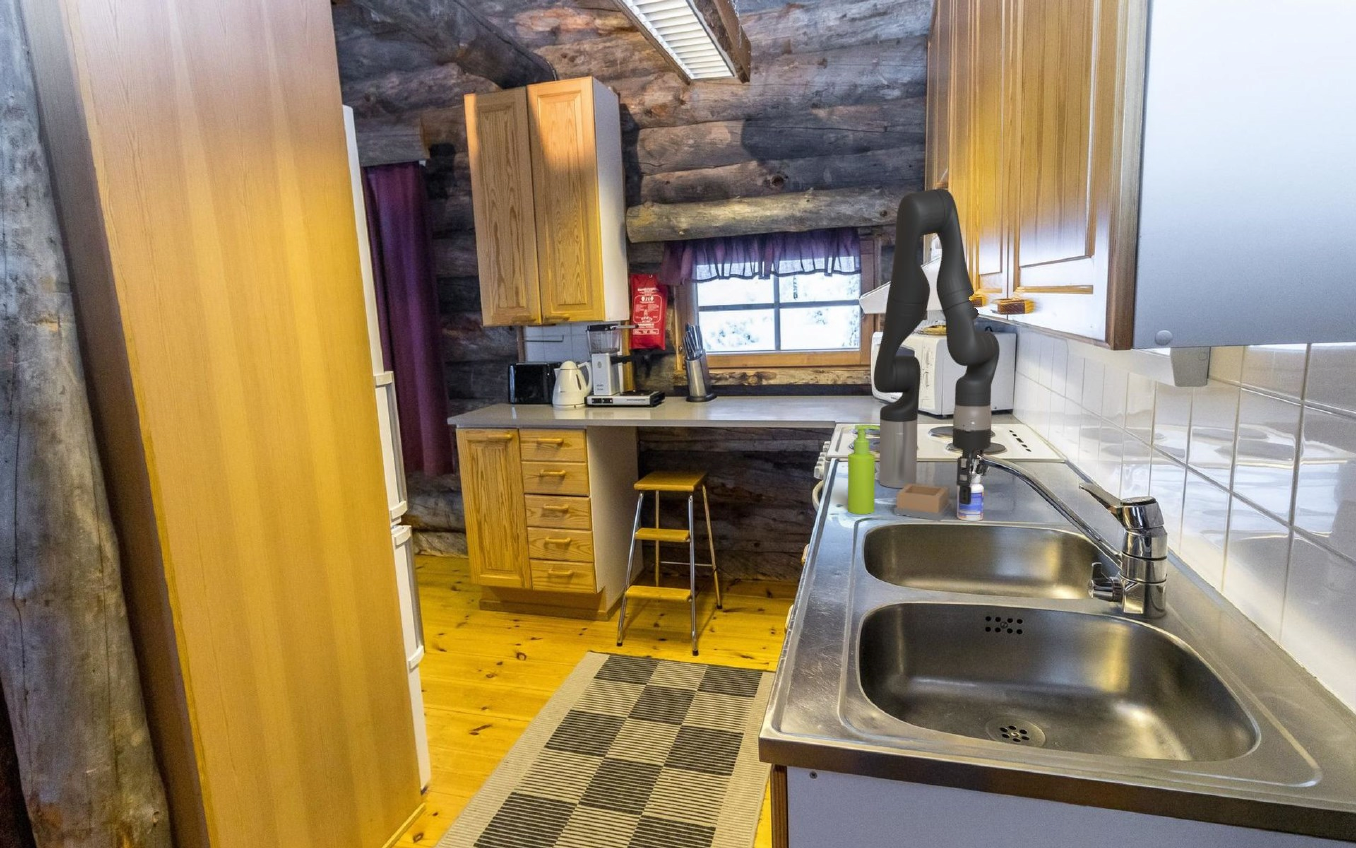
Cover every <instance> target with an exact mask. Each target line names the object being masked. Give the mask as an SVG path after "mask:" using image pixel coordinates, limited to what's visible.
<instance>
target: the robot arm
mask: <svg viewBox="0 0 1356 848" xmlns="http://www.w3.org/2000/svg"><path fill="white" fill-rule="evenodd" d="M934 234H936V235H937V237H938V240H939V242H940V243H939V244H940V245H941V246H940V247H941V258H940V264H939V268H938V271H937V278H936V283H935V284H936V286H935V287H936V295H937V298H938V300H939V304H940V307H941V310H942V313H943V316H944V318H945V332H946V333H945V334H946V335H945V336H946V345H947V350H948V353H949V355H950V357H951V359H952V360H953V361H954V362H955V363H956V364H958V365H960V366H962V367H966V369H965V373H964V375H962V376H961V377H959V378H958V379H957V380H956V382H955V390H954V391H955V392H954V393H955V394H954V409H953V415H952V418H953V421H952V446H953V447H954V448H955V449H960V450H962V453H961V455H960V456H959V457H957V459H956V460H957V469H956V482H955V483H956V487H957V486H960V500H959V502H960V503H961V504H966V505H969V504H970V503H971V490H972V482H973V479H974V478H976V474H977V473H976V472H975V470H976V468H977V465H978V464H979V460H980V459H979V458H977V455H979V456H984V454H985V453H984V451H985V450H988V449H989V448H990V447H991V443H992V442H991V441H992V408H991V407H992V406H991V403H992V402H991V400H992V398H991V397H992V383H993V380H994V378H995V375H996V370H997V366H998V363H999V360H1000V359H999V358H1000V343H999V341H998V338H997V337H996V335H995V334H994V333H993V332H991V331H989V330H988V331H987V330H977V331H976V330H975V322H974V320H975V319H977V318H979V316H980V314H979V313H978V310H977V309H976V308H974V305H973V304H972V302H971V301H970V300H969V297H970V296H972V295H973V294H974V292H975V290H974V288H973V284H972V281H971V279H970V275H969V270H968V268H967V260H966V257H965V249H964V243H963V242H964V241H963V236H962V230H961V224H960V219H959V214H958V208H957V204H956V201H955V198H954V197H953V195H952V194H951V192H950V191H949V190H947V189H945V188H934V189H929V190H921V191H914V192H910V193H907V194H906V195H904V196H903V197H902V198H901V200H900V202H899V205H898V208H897V213H896V222H895V237H894V253H893V263H892V271H891V275H890V282H889V289H888V294H887V300H886V304H885V305H886V306H885V314H884V315H885V316H884V322H883V323H884V324H883V329H882V330H883V331H882V334H881V335H882V336H881V339H880V342H879V343H880V344H879V348H878V352H877V356H876V359H875V364H874V370H873V371H874V372H873V384H874V387H875V390H876V391H877V392H878V393H882V394H895V393H896V394H898V393H900V394H901V396H900V397H899V398H898V399H897V400H895V401H892V403H888V404H887V405H884V406H883V407H881V408H880V411H879V427H880V429H879V467H878V469H879V476H878V477H879V479H878V480H879V481H878V483H879V485H881V486H883V487H887V488H895V489H903V488H904V487H905V486H906V485H908V484H917V472H918V471H917V465H918V422H919V421H918V417H919V415H918V413H919V407H920V405H919V404H920V387H921V363H920V361H919V359H918V358H917V357H916V356H913V355H899V356H897V353H898V351H899V349H900V347H901V346H902V344H903V343H904V341H906V339H907V338H909V336H910V335H911V334H912V333H913V332H914V331H916V329H917V328H918V327H919V325H921V323H922V322H923V320H924V318H925V317H926V314H927V310H928V306H929V300H930V295H931V285H930V282H929V279H928V278H927V275H926V273H925V272H924V269H923V267H922V266H921V264H920V261H919V246H920V245H919V244H920V240H921V237H922V236H926V235H927V236H928V235H934ZM984 457H985V456H984ZM979 475H980V479H981V478H982V475H983V473H981V474H979ZM964 477H966V478H967V481H965V480H963V478H964ZM979 484H981V481H980V482H979Z"/></svg>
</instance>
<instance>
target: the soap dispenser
mask: <svg viewBox="0 0 1356 848" xmlns="http://www.w3.org/2000/svg"><path fill="white" fill-rule="evenodd" d="M854 429H855V430H857V438H855V439H853V452H852V453H849V454H848V455H847V460H848V461H847V467H848V468H847V473H848V474H847V511H848V512H849V513H851V514H855V515H869V514H868V513H871V514H873V513H875V496H876V495H875V492H876V491H875V490H876V489H875V488H876V487H875V485H876V484H875V483H876V482H875V481H876V478H875V477H876V475H875V473H876V471H875V470H876V469H875V468H876V467H875V466H876V465H875V464H876V456H875V454H873V453H870V440H869V438H866V430H878V431H880V425H879V426H878V425H874V424H857V425H855V426H854Z"/></svg>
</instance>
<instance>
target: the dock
mask: <svg viewBox="0 0 1356 848" xmlns="http://www.w3.org/2000/svg"><path fill="white" fill-rule="evenodd" d="M949 491H950V487H944V486H943V487H942V486H937V485H936V486H934V485H927V484H917V483H916V484H908V485H906V486H905V487H904V488H900V490H899V491H898V492H897V493H896V506H895V507H894V508H893V515H894V514H899V515H909V516H913V517H912V518H914V517H921V518H926V519H925V520H930V521H936V520H941V521H942V520H943V519H944V517H945V516H946V515H947V514H948V513H949V512H950V511H951V509H952V502H951V501H949V497H950V496H949V495H950V492H949ZM899 515H898V516H899ZM921 518H920V519H921Z"/></svg>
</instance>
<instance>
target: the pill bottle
mask: <svg viewBox="0 0 1356 848" xmlns="http://www.w3.org/2000/svg"><path fill="white" fill-rule="evenodd" d="M963 480H965V481H967V478H966V477H964V478H963ZM979 482H980V484H979ZM984 490H985V488H984V486H983V484H981V478H980V475H979V474H976V478H974V479H973V482H972V490H971V503H970V504H969V505H966V504H961V503H960V502H959V500H960V486H957V485H956V518H957V519H959V520H961V521H964V522H979V521H980V522H981V521H982V520H983V519H984V503H985V502H984V499H985V497H984V495H985V494H984V493H985V492H984Z"/></svg>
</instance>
